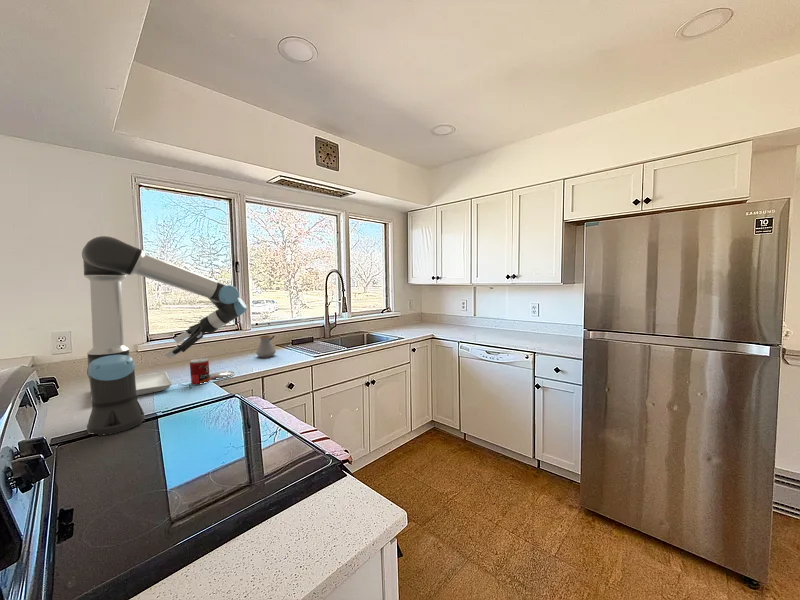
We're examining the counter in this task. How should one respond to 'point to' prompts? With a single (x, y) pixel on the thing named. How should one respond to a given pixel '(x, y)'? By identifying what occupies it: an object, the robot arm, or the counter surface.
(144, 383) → the square plate
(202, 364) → the canned food
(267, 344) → the coffee pot
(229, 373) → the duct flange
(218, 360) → the counter surface
